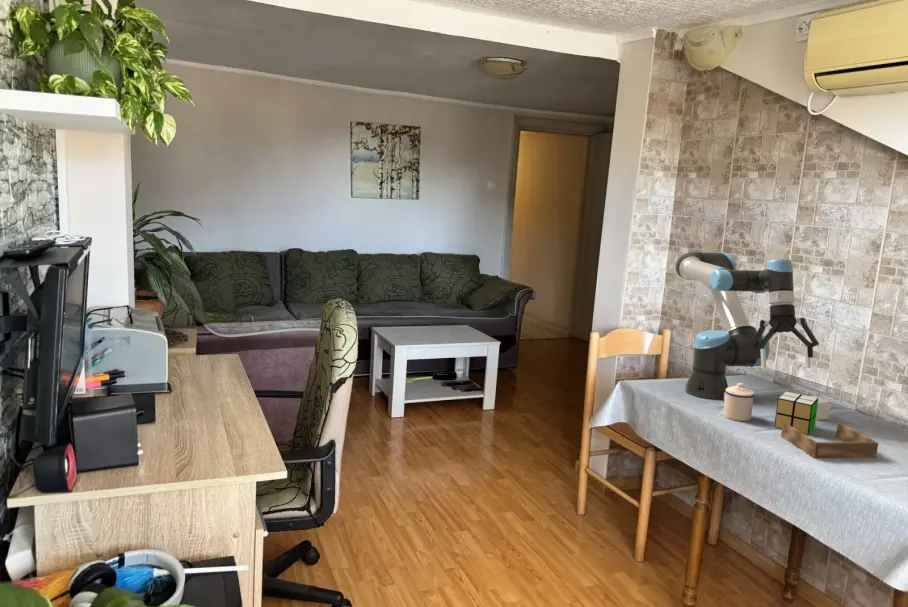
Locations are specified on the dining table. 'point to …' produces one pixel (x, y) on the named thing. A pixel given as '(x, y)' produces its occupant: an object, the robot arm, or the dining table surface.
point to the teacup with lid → (738, 403)
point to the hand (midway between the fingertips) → (785, 368)
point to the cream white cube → (822, 409)
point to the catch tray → (833, 443)
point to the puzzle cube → (796, 412)
